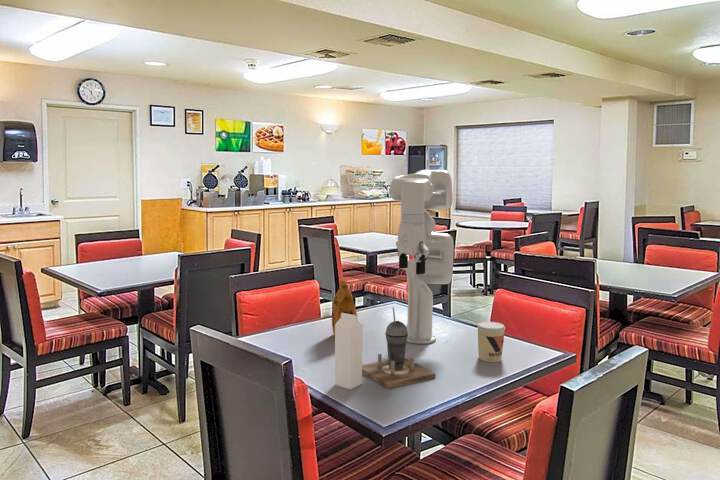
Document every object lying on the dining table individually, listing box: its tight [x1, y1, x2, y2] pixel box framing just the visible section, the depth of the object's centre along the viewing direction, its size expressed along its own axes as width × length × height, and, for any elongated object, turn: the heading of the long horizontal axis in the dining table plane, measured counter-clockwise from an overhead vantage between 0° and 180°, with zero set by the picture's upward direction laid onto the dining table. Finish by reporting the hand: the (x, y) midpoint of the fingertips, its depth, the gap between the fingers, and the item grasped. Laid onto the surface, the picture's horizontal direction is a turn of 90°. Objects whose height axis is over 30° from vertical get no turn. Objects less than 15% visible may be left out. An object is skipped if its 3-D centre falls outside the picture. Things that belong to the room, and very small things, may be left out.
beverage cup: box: [384, 307, 408, 371], centre depth 181 cm, size 7×7×20 cm
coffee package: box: [331, 279, 359, 337], centre depth 219 cm, size 10×12×22 cm
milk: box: [334, 313, 363, 390], centre depth 172 cm, size 6×6×22 cm
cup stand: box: [362, 353, 437, 390], centre depth 182 cm, size 18×18×6 cm
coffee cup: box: [476, 321, 506, 363], centre depth 197 cm, size 9×9×12 cm
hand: (411, 271), depth 186 cm, fingers open, 9 cm apart
